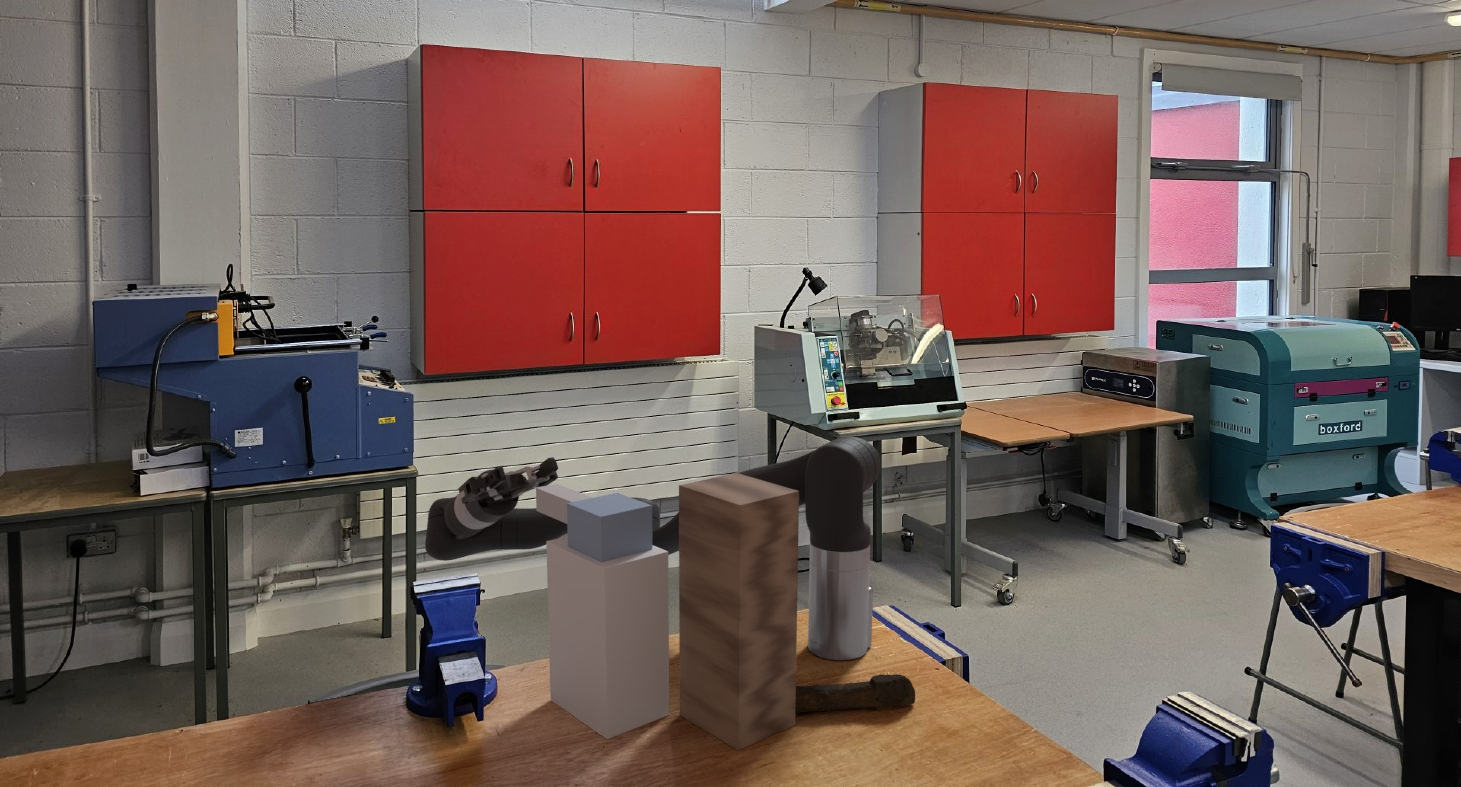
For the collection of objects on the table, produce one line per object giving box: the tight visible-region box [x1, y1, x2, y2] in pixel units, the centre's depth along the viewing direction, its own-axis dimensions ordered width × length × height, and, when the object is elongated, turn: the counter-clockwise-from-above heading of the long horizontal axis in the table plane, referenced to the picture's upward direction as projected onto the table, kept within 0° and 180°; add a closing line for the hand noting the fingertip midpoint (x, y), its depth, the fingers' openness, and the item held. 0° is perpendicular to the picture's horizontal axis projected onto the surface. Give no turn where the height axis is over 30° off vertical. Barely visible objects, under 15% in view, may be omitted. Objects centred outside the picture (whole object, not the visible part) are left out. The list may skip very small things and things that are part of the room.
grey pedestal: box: [545, 535, 670, 740], centre depth 137 cm, size 10×14×23 cm
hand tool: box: [795, 673, 916, 717], centre depth 138 cm, size 19×4×5 cm, turn 95°
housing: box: [535, 483, 652, 562], centre depth 138 cm, size 8×20×6 cm, turn 41°
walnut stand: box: [678, 472, 800, 751], centre depth 133 cm, size 10×12×32 cm
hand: (528, 467), depth 149 cm, fingers open, 8 cm apart
